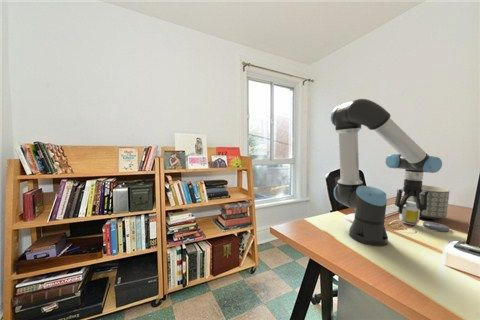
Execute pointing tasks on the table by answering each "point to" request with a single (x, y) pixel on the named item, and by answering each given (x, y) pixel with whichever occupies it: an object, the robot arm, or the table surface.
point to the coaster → (436, 226)
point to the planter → (434, 202)
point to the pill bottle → (410, 213)
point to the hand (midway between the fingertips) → (408, 220)
